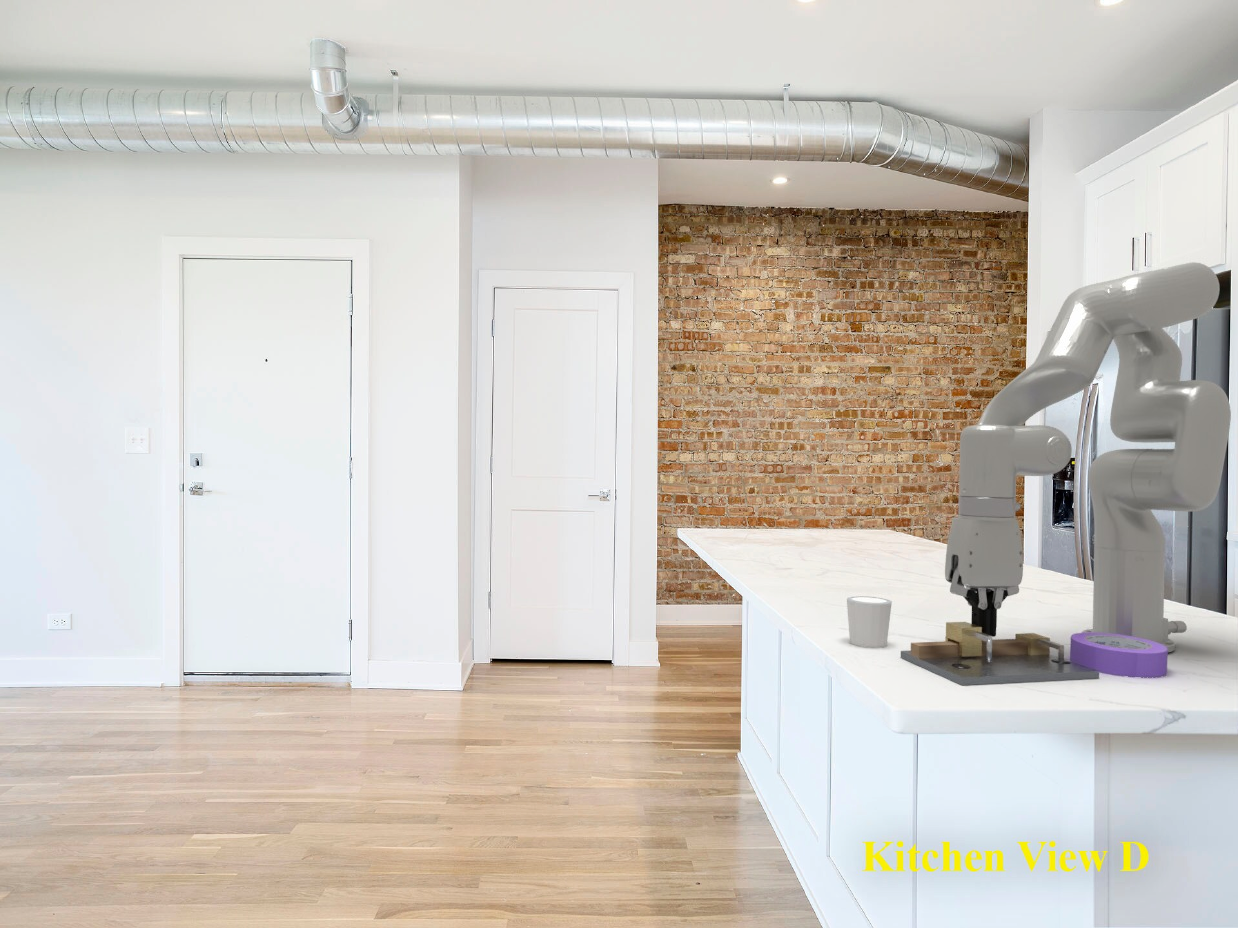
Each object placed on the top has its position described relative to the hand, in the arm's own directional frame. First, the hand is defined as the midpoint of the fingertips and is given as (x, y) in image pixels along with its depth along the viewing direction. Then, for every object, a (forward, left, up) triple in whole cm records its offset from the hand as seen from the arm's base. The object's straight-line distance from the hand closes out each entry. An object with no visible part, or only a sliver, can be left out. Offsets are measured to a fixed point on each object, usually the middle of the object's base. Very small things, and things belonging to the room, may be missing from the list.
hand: (983, 634), depth 111 cm
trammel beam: (+1, +2, -3) cm, 4 cm away
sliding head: (+3, +2, -3) cm, 5 cm away
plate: (+1, +3, -4) cm, 5 cm away
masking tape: (-18, +5, -4) cm, 19 cm away
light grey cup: (+11, -13, -4) cm, 17 cm away
